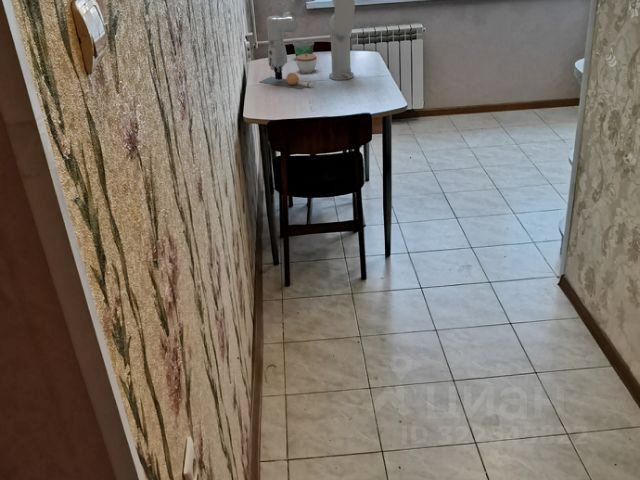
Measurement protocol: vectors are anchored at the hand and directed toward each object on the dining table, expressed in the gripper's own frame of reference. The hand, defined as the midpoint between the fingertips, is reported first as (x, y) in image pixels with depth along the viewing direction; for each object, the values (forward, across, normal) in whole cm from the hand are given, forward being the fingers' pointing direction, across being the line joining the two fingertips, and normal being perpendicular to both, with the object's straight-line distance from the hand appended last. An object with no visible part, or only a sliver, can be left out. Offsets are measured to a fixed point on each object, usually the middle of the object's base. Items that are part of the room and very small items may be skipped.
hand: (278, 78), depth 336 cm
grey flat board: (+2, 0, -4) cm, 4 cm away
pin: (0, 0, -12) cm, 12 cm away
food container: (+2, +39, +13) cm, 41 cm away
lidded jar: (+2, +22, -2) cm, 22 cm away
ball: (-2, -1, -9) cm, 10 cm away
